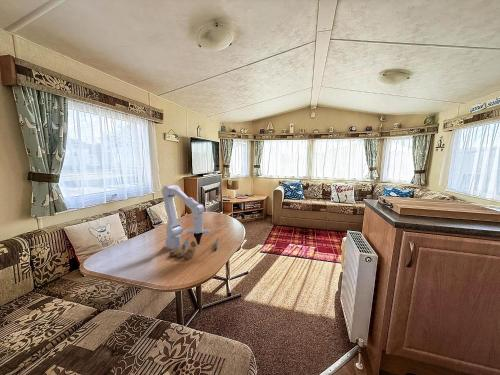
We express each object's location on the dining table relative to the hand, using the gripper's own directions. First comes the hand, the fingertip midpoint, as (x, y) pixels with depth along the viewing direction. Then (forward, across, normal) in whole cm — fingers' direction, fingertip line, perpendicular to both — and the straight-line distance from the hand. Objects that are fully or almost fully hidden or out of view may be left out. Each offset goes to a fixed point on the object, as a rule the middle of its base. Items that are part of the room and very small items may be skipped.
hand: (198, 243), depth 130 cm
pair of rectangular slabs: (+6, 0, +10) cm, 12 cm away
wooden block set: (+3, -8, -8) cm, 12 cm away
